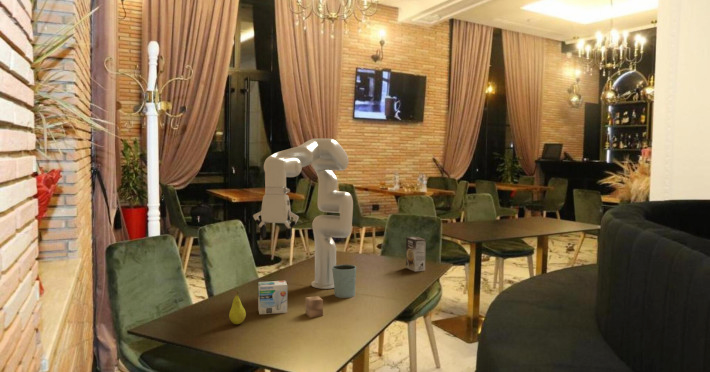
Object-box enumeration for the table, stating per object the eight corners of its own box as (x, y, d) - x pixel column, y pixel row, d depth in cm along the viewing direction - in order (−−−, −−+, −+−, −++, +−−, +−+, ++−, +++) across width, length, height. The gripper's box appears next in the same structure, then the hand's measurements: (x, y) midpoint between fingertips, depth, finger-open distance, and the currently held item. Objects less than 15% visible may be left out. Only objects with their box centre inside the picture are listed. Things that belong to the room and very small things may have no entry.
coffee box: (405, 267, 264) (405, 236, 263) (416, 266, 267) (416, 236, 266) (414, 271, 256) (415, 239, 255) (425, 270, 259) (426, 238, 258)
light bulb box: (259, 315, 189) (258, 286, 189) (257, 309, 196) (257, 281, 195) (288, 312, 192) (288, 284, 191) (285, 307, 199) (285, 279, 198)
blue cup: (353, 299, 210) (353, 270, 209) (329, 297, 212) (329, 268, 211) (358, 292, 219) (358, 264, 219) (335, 290, 222) (335, 263, 221)
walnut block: (318, 311, 193) (318, 295, 193) (322, 315, 189) (322, 299, 188) (305, 313, 191) (305, 297, 191) (310, 317, 187) (309, 300, 186)
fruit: (238, 320, 184) (238, 287, 183) (249, 323, 180) (249, 289, 179) (225, 324, 179) (225, 290, 178) (236, 327, 176) (235, 293, 175)
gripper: (301, 191, 188) (301, 237, 189) (257, 190, 192) (258, 235, 193) (294, 193, 181) (294, 241, 182) (249, 191, 185) (249, 239, 186)
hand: (275, 238), depth 188 cm, fingers open, 9 cm apart
